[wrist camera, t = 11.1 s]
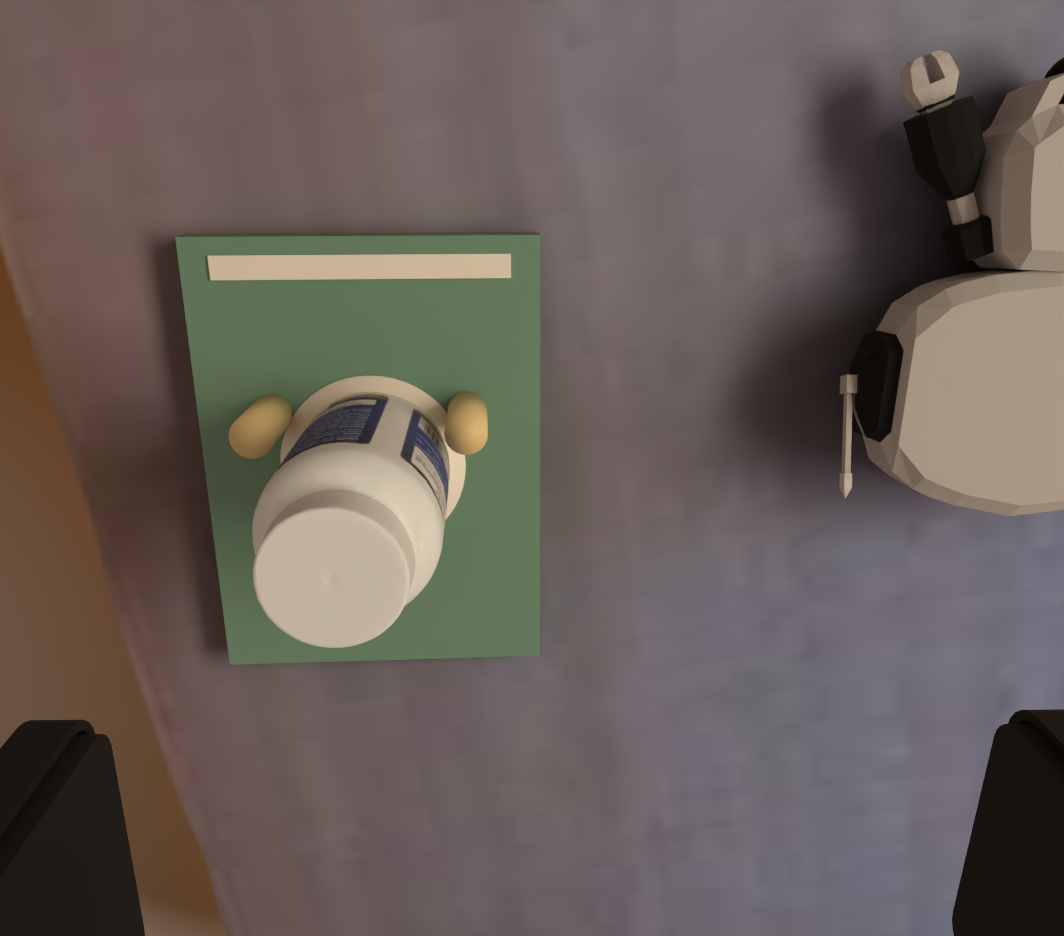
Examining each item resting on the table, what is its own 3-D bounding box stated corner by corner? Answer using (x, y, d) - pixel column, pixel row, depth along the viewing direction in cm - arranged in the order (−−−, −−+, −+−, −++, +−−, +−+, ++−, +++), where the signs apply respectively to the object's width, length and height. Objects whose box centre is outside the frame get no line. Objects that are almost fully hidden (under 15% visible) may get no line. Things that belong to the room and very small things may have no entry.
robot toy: (854, 59, 30) (799, 482, 34) (918, 27, 26) (846, 517, 29) (1194, 82, 31) (1104, 493, 34) (1312, 55, 26) (1195, 528, 30)
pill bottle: (280, 501, 32) (197, 636, 22) (327, 366, 30) (257, 450, 21) (421, 550, 33) (396, 699, 23) (473, 421, 31) (468, 525, 22)
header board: (185, 235, 30) (141, 243, 26) (538, 232, 30) (546, 241, 26) (236, 651, 35) (206, 709, 31) (538, 642, 35) (545, 698, 32)
